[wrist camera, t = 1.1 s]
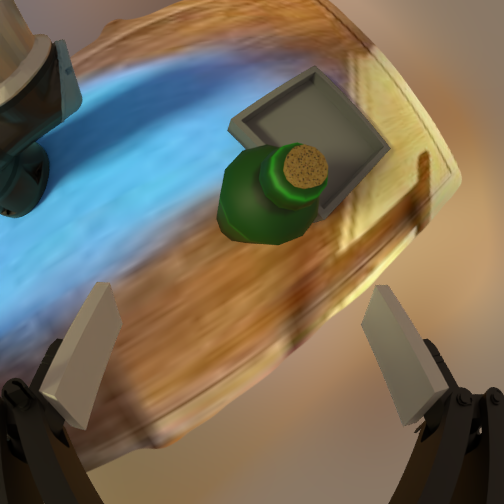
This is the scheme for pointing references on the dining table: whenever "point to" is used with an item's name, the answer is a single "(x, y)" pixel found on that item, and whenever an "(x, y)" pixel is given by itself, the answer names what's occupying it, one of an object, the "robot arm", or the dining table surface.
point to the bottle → (271, 193)
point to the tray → (315, 131)
